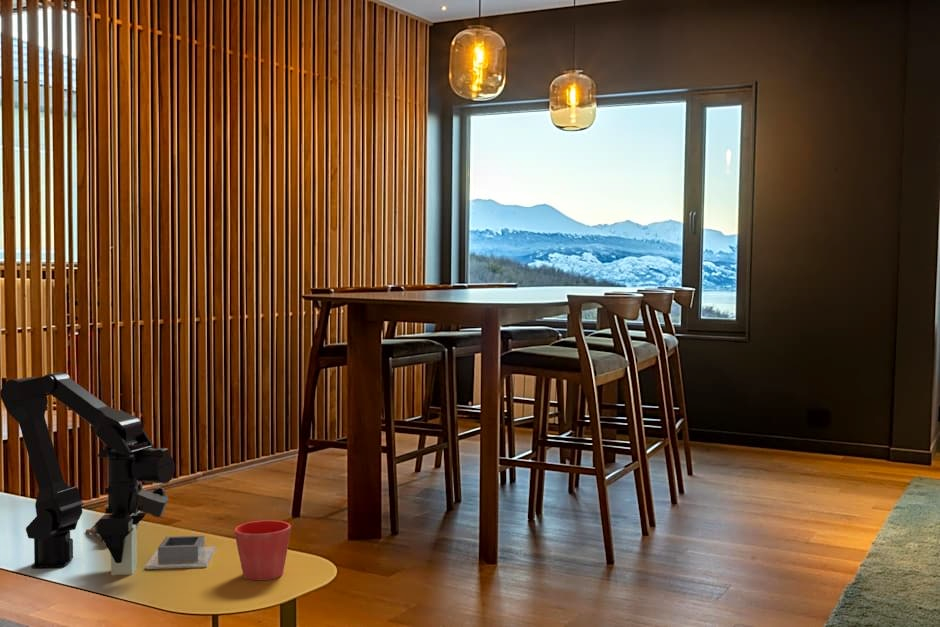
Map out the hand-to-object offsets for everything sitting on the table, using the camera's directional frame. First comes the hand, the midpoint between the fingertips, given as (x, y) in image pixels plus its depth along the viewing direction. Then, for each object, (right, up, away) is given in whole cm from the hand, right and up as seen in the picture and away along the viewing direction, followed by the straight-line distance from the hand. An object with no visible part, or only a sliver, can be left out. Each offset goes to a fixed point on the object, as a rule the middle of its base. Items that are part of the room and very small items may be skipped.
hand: (124, 556), depth 187 cm
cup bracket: (+9, -3, +8) cm, 13 cm away
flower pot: (+28, -3, -2) cm, 29 cm away
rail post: (0, -3, 0) cm, 3 cm away
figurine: (-13, -2, +24) cm, 28 cm away
